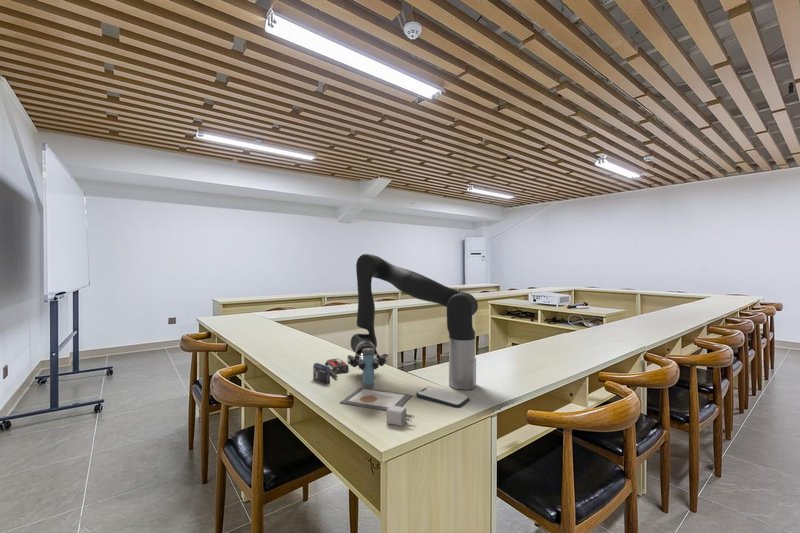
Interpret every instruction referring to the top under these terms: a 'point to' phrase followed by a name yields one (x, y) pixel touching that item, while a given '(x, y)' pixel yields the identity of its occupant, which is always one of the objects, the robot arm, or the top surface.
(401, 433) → the top surface
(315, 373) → the mini dv tape
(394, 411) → the usb wall charger
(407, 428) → the top surface
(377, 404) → the grey picture frame
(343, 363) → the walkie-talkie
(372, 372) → the bottle
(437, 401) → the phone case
